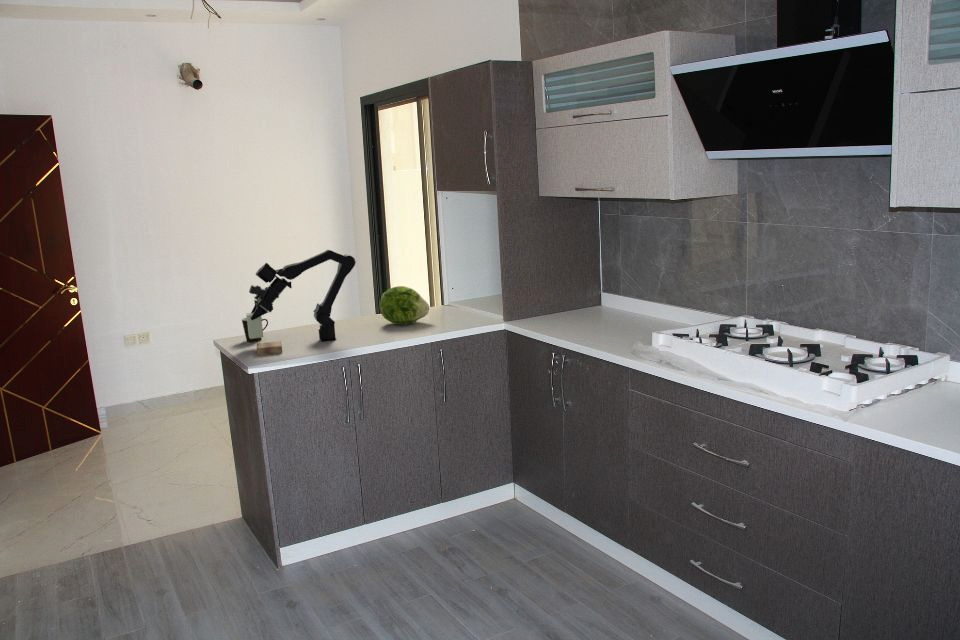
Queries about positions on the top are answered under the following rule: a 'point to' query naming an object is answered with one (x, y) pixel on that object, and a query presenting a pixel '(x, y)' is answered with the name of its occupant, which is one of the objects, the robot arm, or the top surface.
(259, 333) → the tea tin
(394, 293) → the lettuce
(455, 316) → the top surface
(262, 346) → the walnut block
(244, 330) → the coffee mug
